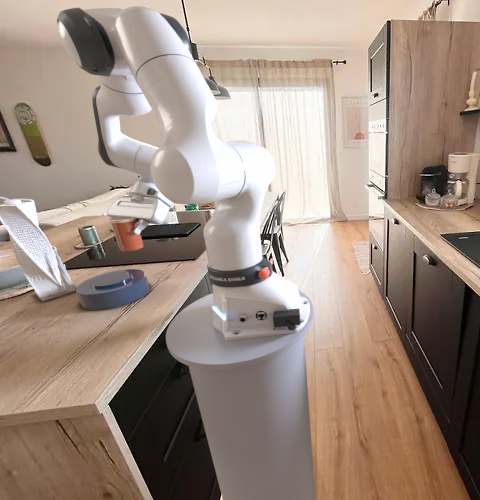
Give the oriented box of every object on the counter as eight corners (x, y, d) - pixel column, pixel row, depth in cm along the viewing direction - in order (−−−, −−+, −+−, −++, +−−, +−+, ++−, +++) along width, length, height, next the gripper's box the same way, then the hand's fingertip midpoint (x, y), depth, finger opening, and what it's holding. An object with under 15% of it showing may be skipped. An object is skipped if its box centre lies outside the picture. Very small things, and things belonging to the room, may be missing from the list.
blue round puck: (160, 282, 87) (156, 266, 85) (124, 310, 73) (118, 291, 71) (111, 282, 87) (106, 266, 85) (65, 310, 73) (58, 291, 71)
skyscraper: (35, 304, 76) (-13, 198, 66) (27, 295, 80) (-20, 195, 70) (76, 291, 82) (38, 193, 72) (67, 283, 86) (29, 190, 76)
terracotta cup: (149, 244, 95) (141, 215, 91) (135, 251, 89) (126, 220, 85) (129, 244, 95) (120, 215, 91) (113, 251, 89) (103, 220, 85)
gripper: (114, 188, 95) (91, 224, 89) (162, 191, 89) (141, 230, 84) (130, 199, 100) (110, 234, 95) (177, 203, 95) (158, 240, 90)
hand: (125, 232), depth 89 cm, fingers closed on terracotta cup, 6 cm apart
